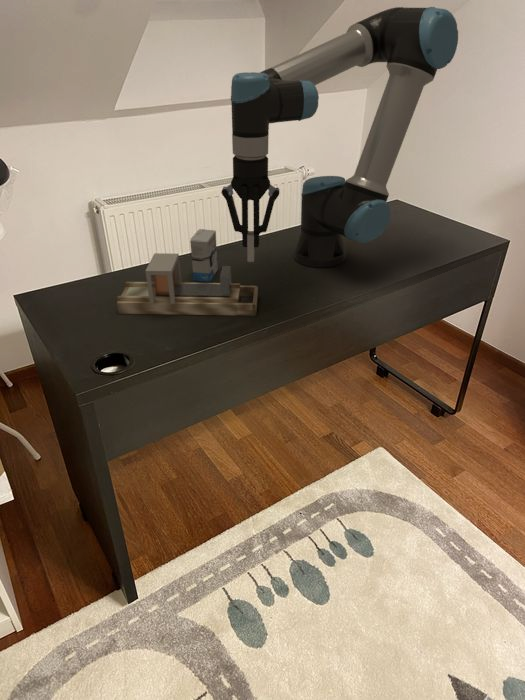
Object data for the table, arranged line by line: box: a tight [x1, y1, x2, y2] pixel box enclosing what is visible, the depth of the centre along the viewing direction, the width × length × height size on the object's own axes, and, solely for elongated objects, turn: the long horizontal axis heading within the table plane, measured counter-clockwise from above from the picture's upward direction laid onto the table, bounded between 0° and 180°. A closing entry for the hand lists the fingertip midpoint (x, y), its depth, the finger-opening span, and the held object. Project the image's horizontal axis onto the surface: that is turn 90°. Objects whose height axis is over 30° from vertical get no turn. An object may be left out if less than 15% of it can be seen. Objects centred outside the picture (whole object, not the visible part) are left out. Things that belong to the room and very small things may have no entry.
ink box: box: [190, 228, 218, 283], centre depth 142 cm, size 8×5×12 cm, turn 168°
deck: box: [116, 281, 259, 317], centre depth 130 cm, size 34×10×4 cm, turn 88°
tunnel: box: [144, 252, 182, 304], centre depth 127 cm, size 6×10×8 cm, turn 178°
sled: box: [152, 265, 232, 298], centre depth 128 cm, size 18×6×6 cm, turn 88°
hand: (250, 259), depth 124 cm, fingers closed
